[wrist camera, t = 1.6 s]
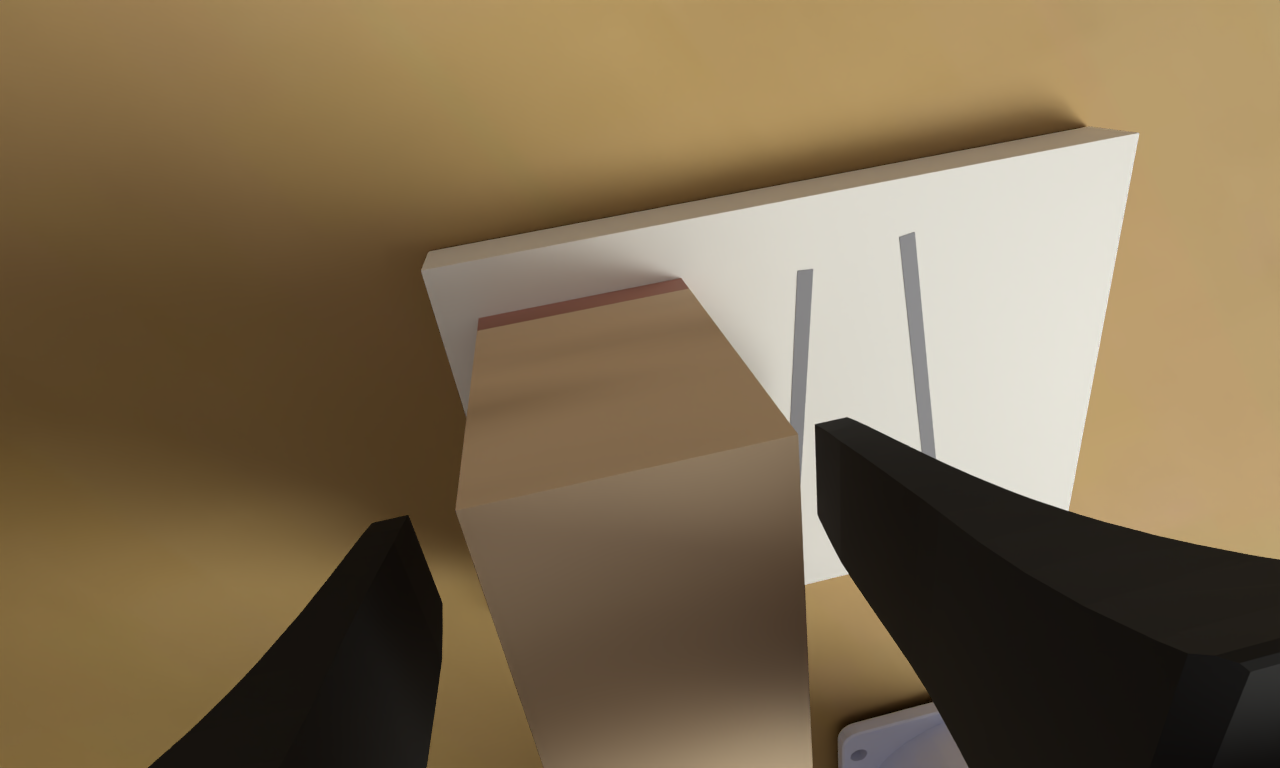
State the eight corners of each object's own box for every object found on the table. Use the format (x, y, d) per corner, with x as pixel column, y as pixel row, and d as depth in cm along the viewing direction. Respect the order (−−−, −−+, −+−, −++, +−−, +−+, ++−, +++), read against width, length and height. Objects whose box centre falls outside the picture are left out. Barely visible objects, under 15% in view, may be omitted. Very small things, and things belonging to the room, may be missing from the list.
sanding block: (717, 573, 15) (814, 819, 10) (559, 611, 15) (583, 883, 10) (681, 278, 12) (798, 434, 7) (478, 318, 12) (454, 510, 7)
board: (1032, 492, 17) (1066, 521, 16) (535, 610, 16) (537, 650, 15) (1088, 126, 13) (1139, 133, 12) (428, 251, 12) (420, 270, 11)
